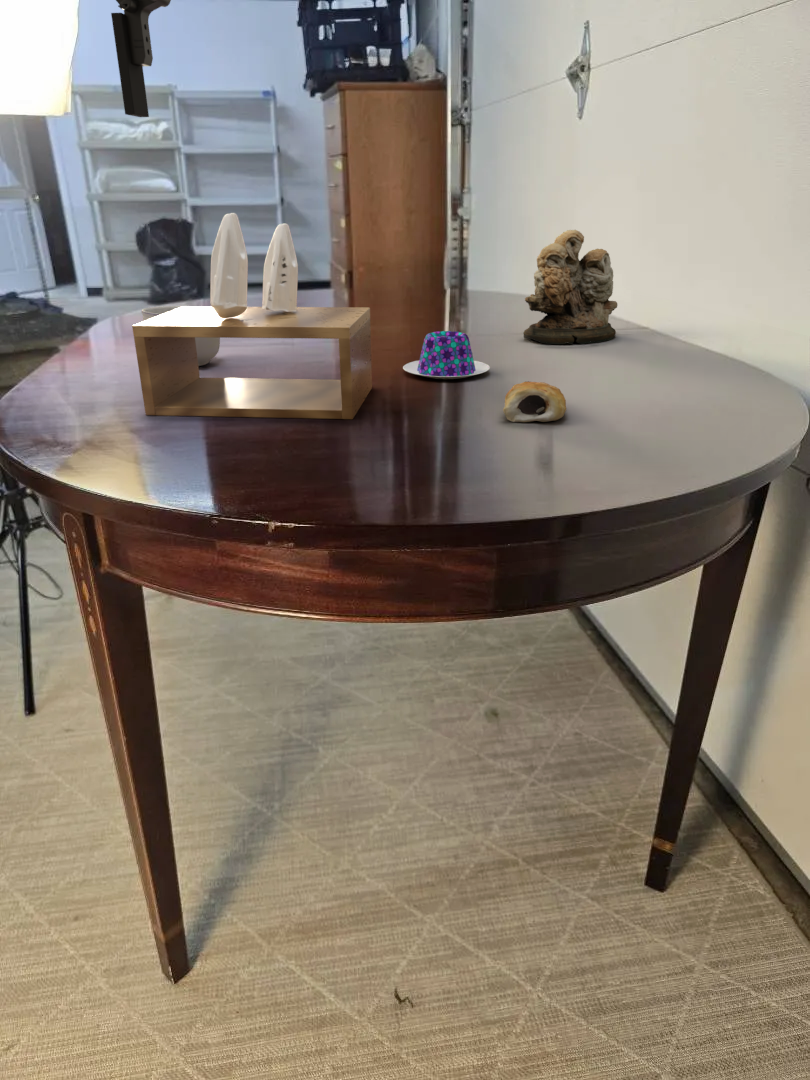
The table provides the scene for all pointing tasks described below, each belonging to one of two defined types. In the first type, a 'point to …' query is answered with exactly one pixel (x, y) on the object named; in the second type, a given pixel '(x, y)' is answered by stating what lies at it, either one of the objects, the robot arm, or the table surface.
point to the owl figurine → (572, 293)
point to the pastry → (534, 402)
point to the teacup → (204, 345)
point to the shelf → (184, 393)
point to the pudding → (446, 357)
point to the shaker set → (233, 271)
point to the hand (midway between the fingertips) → (54, 117)
